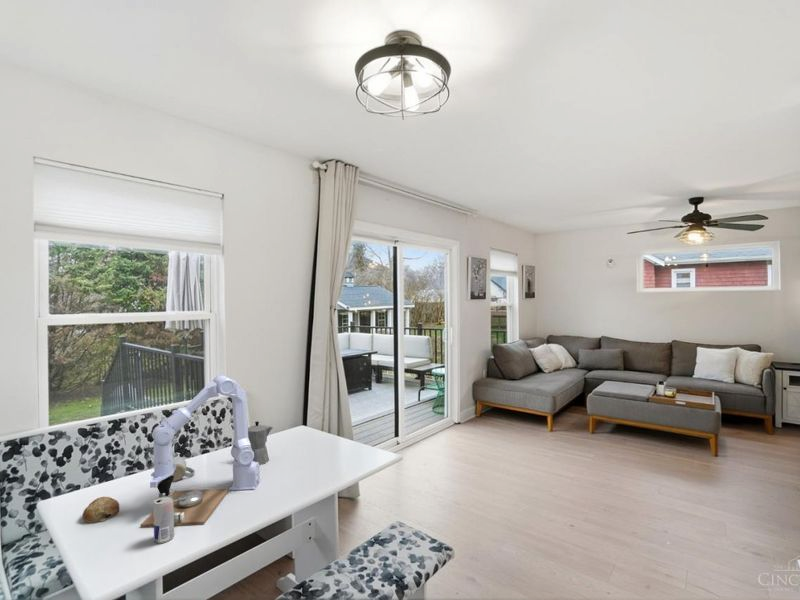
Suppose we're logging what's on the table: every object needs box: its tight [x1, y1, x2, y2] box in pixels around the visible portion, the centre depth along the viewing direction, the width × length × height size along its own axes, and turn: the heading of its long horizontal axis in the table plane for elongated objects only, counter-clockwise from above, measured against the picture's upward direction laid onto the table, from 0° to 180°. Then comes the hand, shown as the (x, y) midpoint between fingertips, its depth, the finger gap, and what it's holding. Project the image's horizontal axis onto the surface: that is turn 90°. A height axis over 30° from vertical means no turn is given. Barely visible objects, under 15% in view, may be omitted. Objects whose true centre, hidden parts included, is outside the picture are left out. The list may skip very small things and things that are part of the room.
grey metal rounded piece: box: [158, 491, 203, 508], centre depth 147 cm, size 14×8×5 cm, turn 113°
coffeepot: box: [248, 420, 273, 466], centre depth 185 cm, size 15×9×18 cm, turn 103°
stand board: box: [140, 487, 230, 529], centre depth 146 cm, size 20×23×4 cm
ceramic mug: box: [171, 456, 196, 482], centre depth 171 cm, size 11×8×8 cm
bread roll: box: [82, 496, 120, 524], centre depth 142 cm, size 10×10×8 cm
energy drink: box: [152, 495, 175, 544], centre depth 128 cm, size 5×5×12 cm
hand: (164, 498), depth 146 cm, fingers closed
